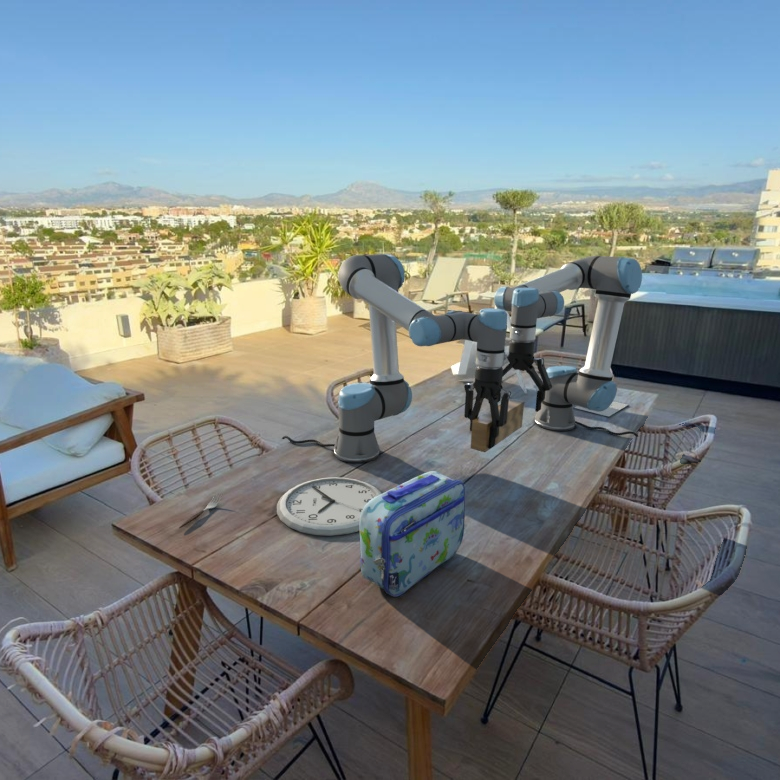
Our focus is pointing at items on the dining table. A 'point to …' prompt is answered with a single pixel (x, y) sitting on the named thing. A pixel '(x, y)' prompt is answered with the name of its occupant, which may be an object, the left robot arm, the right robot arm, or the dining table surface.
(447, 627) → the dining table surface
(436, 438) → the dining table surface
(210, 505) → the fork
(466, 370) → the white plastic object
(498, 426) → the left robot arm
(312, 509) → the wall clock
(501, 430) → the bar
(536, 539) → the dining table surface
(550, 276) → the right robot arm
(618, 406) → the invitation card
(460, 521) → the lunch box
